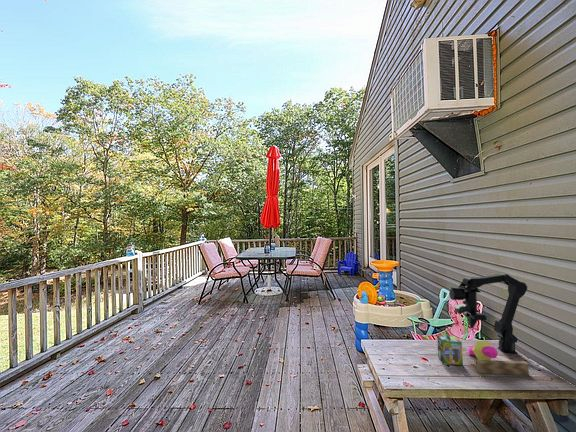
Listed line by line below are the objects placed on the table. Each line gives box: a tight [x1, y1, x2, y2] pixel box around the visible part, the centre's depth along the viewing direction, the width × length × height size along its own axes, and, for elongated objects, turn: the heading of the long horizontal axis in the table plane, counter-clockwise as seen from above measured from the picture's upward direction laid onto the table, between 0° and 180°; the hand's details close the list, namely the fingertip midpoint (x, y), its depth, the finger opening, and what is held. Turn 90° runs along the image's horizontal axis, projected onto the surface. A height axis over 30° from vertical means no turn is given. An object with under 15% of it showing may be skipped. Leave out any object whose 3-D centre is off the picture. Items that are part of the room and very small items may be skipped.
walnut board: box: [475, 359, 530, 376], centre depth 135 cm, size 22×2×5 cm, turn 85°
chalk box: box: [436, 330, 464, 366], centre depth 148 cm, size 9×9×15 cm
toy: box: [468, 340, 499, 360], centre depth 149 cm, size 10×18×10 cm, turn 3°
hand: (471, 328), depth 161 cm, fingers closed
